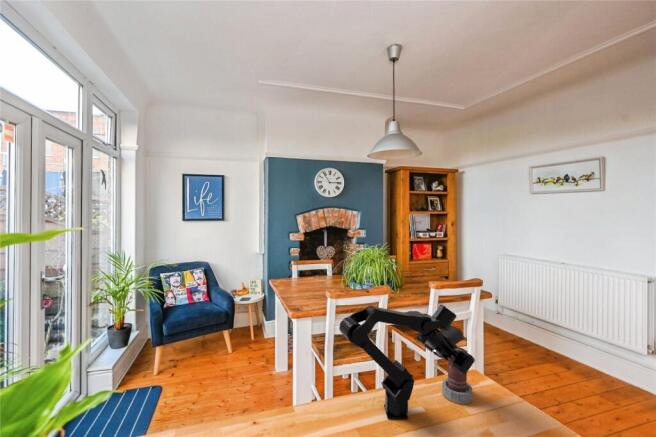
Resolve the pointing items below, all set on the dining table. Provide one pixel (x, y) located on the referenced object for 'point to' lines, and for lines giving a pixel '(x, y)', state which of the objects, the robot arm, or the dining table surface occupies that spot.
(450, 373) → the can
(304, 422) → the dining table surface
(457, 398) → the segmented gray ring
